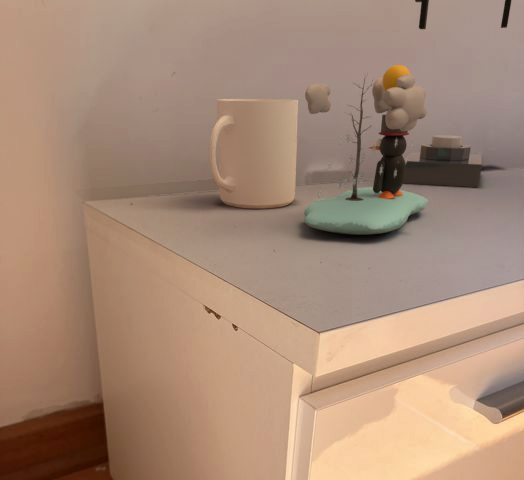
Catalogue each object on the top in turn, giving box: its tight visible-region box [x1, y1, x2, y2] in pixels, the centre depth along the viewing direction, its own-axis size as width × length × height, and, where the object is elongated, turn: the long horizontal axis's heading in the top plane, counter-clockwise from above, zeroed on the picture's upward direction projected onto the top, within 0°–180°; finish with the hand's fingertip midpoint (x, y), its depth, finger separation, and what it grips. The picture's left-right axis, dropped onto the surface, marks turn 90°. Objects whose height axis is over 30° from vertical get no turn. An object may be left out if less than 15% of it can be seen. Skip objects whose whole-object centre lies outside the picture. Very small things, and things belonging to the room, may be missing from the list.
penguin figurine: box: [303, 64, 429, 236], centre depth 58 cm, size 20×11×15 cm, turn 149°
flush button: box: [430, 134, 463, 147], centre depth 88 cm, size 4×4×2 cm
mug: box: [208, 98, 299, 210], centre depth 68 cm, size 10×12×12 cm
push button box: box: [403, 142, 483, 188], centre depth 89 cm, size 11×13×5 cm
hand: (462, 27), depth 81 cm, fingers open, 10 cm apart
